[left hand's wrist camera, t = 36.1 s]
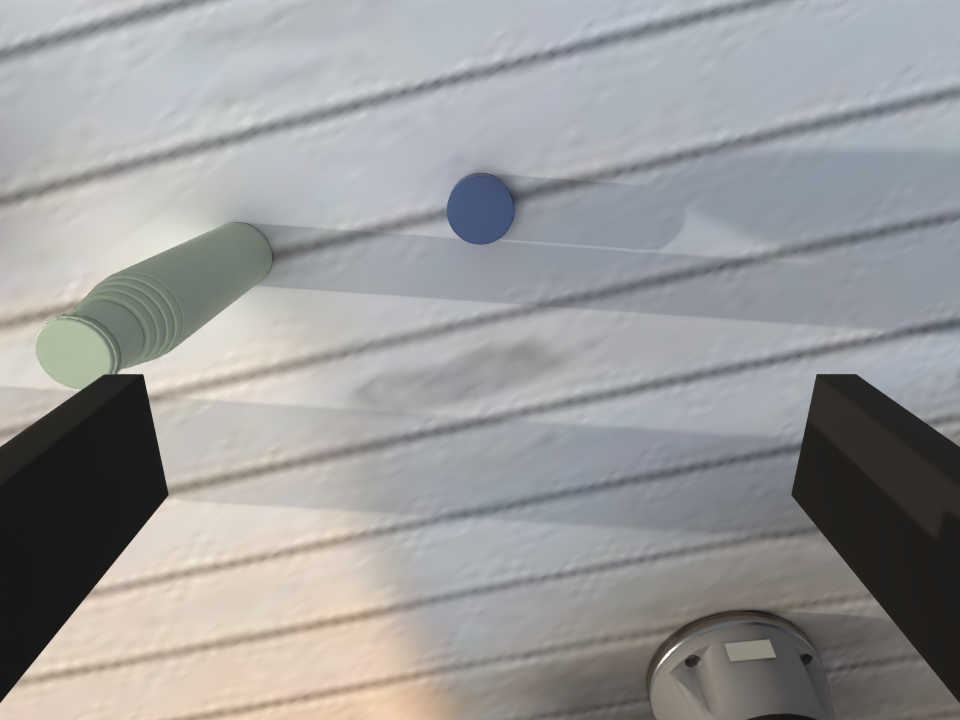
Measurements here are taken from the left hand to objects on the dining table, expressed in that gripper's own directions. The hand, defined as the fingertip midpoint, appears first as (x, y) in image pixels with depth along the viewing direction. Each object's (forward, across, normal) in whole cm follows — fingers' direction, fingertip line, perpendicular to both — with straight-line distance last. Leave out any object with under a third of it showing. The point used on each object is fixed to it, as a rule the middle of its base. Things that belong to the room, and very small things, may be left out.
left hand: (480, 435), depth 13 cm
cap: (+30, 0, 0) cm, 30 cm away
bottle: (+32, +16, +3) cm, 36 cm away
